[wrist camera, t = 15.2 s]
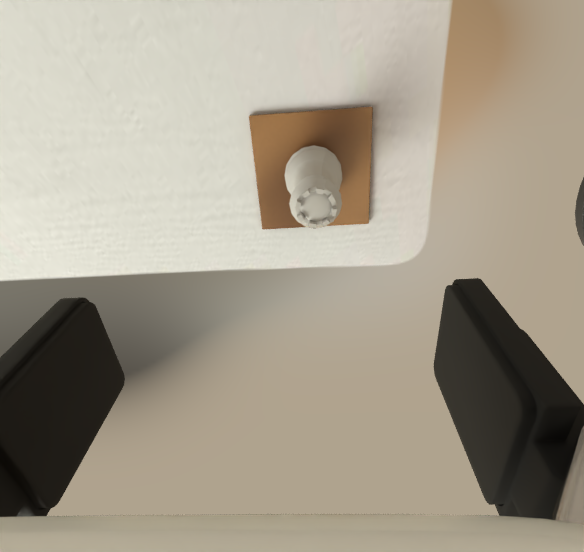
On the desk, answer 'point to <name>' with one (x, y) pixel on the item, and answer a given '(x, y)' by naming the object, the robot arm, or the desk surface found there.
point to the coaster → (303, 133)
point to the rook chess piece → (314, 186)
